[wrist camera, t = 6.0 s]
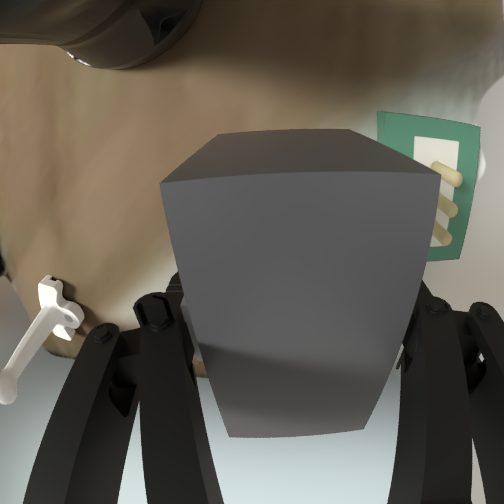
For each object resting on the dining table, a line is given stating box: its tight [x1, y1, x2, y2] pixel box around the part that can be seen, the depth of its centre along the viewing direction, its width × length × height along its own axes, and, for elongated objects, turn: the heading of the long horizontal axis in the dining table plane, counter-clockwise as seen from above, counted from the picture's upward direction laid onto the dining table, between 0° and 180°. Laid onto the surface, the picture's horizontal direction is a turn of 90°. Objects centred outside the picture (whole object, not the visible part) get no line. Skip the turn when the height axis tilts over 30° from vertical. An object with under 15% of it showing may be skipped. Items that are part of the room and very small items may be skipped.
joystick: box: [0, 275, 84, 404], centre depth 30 cm, size 11×8×20 cm
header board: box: [378, 111, 480, 262], centre depth 25 cm, size 16×12×6 cm
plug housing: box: [159, 129, 441, 438], centre depth 12 cm, size 11×6×8 cm, turn 4°
